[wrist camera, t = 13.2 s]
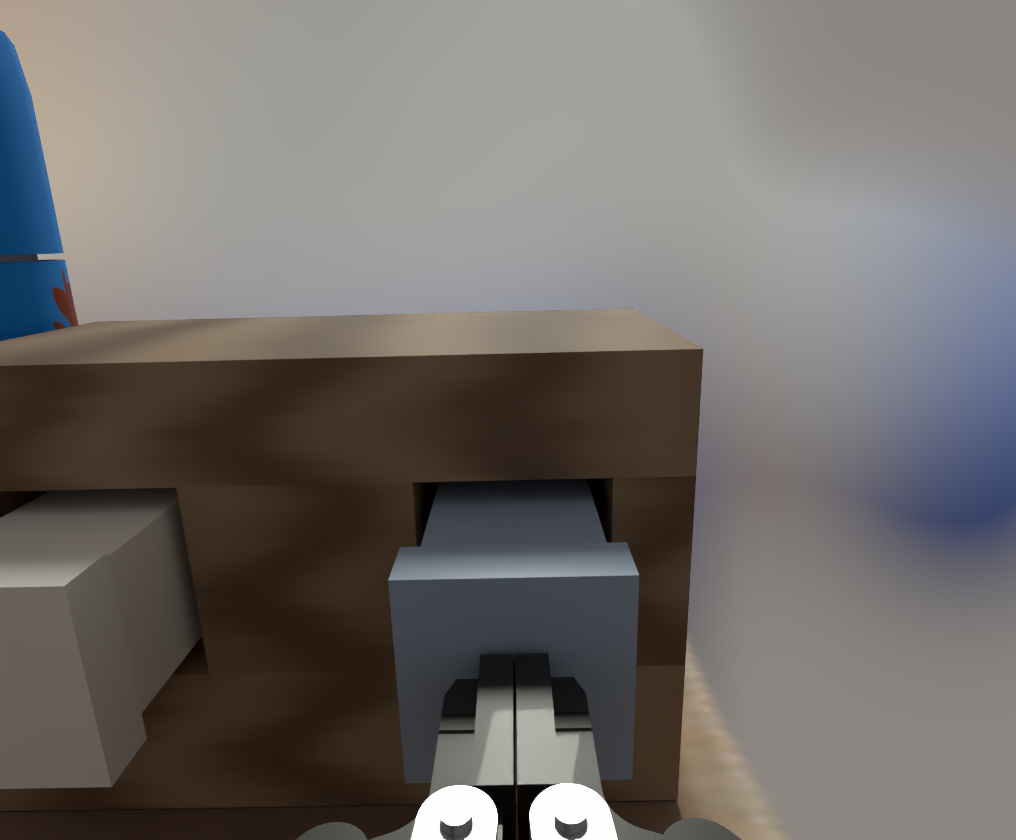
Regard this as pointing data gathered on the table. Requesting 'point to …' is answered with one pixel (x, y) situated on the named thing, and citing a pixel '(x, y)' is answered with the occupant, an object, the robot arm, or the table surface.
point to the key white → (88, 630)
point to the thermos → (27, 217)
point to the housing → (349, 515)
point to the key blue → (515, 608)
